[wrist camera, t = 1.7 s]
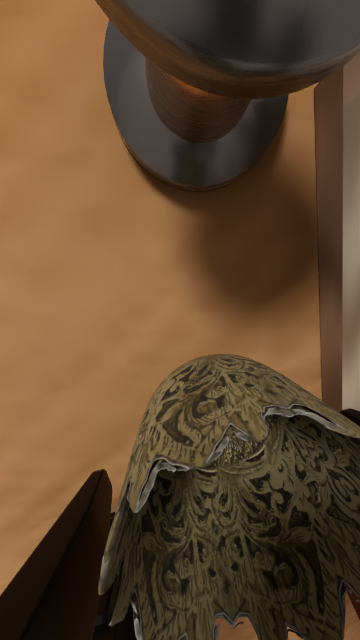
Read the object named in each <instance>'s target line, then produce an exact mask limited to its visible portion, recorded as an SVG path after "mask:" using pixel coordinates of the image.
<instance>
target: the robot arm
mask: <svg viewBox="0 0 360 640" xmlns="http://www.w3.org/2000/svg"><path fill="white" fill-rule="evenodd" d="M339 413H340V414H342V415H343V416H345V417H346V418H348V419H349V420H351V421H352V422H354V423H355V424H357V425H358V426H360V411H357V410H355V409H351V408H348V409H344V410H341V411H340V412H339ZM111 502H112V485H111V482H110V479H109V477H108V474H107V472H106V470H105V469H101V470H97V471H94V472H93V473H92V474H91V475H90V476H89V478H88V479H87V480H86V482H85V483H84V484H83V486H82V487H81V488H80V490H79V491H78V493H77V494H76V495H75V497H74V498H73V499H72V501H71V502H70V503H69V505H68V506H67V507H66V509H65V510H64V511H63V513H62V514H61V515H60V517H59V518H58V519H57V521H56V522H55V523H54V525H53V526H52V527H51V529H50V530H49V531H48V533H47V534H46V535H45V537H44V538H43V539H42V541H41V542H40V543H39V545H38V546H37V547H36V549H35V550H34V551H33V553H32V554H31V555H30V557H29V558H28V559H27V561H26V562H25V563H24V565H23V566H22V567H21V569H20V570H19V571H18V573H17V574H16V575H15V577H14V578H13V580H12V581H11V582H10V584H9V585H8V586H7V588H6V589H5V590H4V592H3V593H2V594H1V596H0V640H137V638H136V635H135V628H134V618H133V607H132V604H131V602H130V603H129V604H130V606H129V607H128V613H127V614H126V616H125V619H124V620H122V621H120V622H118V623H116V624H115V625H113V626H110V625H109V624H108V616H109V609H110V602H111V596H112V591H113V585H114V581H113V583H112V585H111V586H110V588H109V589H108V590H107V591H106V592H105V593H104V594H102V595H99V594H98V587H99V579H100V572H101V566H102V559H103V554H104V551H105V548H106V547H105V545H106V542H107V538H108V535H109V532H110V529H111V526H112V523H113V520H114V516H115V513H112V514H111Z"/></svg>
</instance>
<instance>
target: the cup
mask: <svg viewBox="0 0 360 640" xmlns="http://www.w3.org/2000/svg"><path fill="white" fill-rule="evenodd" d="M105 547H106V548H105V551H104V554H103V559H102V566H101V572H100V579H99V587H98V594H99V595H102V594H104V593H105V592H106V591H107V590H108V589H109V588H110V586H111V585H112V583H113V581H114V585H113V591H112V596H111V602H110V609H109V616H108V624H109V625H110V626H113V625H115V624H116V623H118V622H120V621H122V620H124V619H125V616H126V614H127V613H128V607H129V606H130V604H129V603H130V602H131V604H132V607H133V618H134V628H135V635H136V638H137V640H217V637H218V634H219V630H218V629H219V627H220V624H219V625H216V626H215V618H220V617H222V618H224V619H225V620H226V621H227V622H228V623H229V625H230V626H234V624H235V622H236V620H237V618H238V617H247V618H249V620H250V622H251V624H252V626H253V628H254V630H255V632H256V634H257V636H258V640H288V631H291V632H294V633H295V634H296V635H297V636H299V637H301V638H302V639H304V640H344V628H345V610H346V609H345V604H344V602H345V594H346V592H350V594H352V590H353V592H355V594H356V595H357V597H359V598H360V426H358V425H357V424H355V423H354V422H352V421H351V420H349V419H348V418H346V417H345V416H343V415H342V414H340V413H339V412H338V411H336V410H335V409H333V408H332V407H330V406H329V405H327V404H326V403H324V402H323V401H321V400H320V399H318V398H317V397H315V396H314V395H312V394H311V393H309V392H308V391H306V390H305V389H303V388H302V387H300V386H299V385H297V384H296V383H294V382H293V381H291V380H290V379H288V378H286V377H285V376H283V375H282V374H280V373H278V372H276V371H275V370H273V369H271V368H269V367H267V366H265V365H264V364H261V363H259V362H257V361H254V360H252V359H249V358H246V357H242V356H237V355H227V354H215V355H208V356H203V357H200V358H196V359H194V360H191V361H189V362H187V363H185V364H183V365H182V366H180V367H179V368H177V369H176V370H175V371H173V372H172V373H171V374H170V375H169V376H168V377H167V378H166V379H165V380H164V381H163V382H162V383H161V384H160V386H159V387H158V388H157V390H156V391H155V393H154V395H153V396H152V398H151V400H150V402H149V404H148V406H147V408H146V411H145V413H144V416H143V419H142V422H141V425H140V428H139V431H138V434H137V437H136V441H135V444H134V447H133V451H132V454H131V458H130V461H129V465H128V469H127V472H126V476H125V479H124V483H123V487H122V490H121V494H120V498H119V502H118V505H117V509H116V513H115V516H114V520H113V523H112V526H111V529H110V532H109V535H108V538H107V542H106V545H105ZM345 584H347V585H348V586H349V587H350V588H351V589H352V590H349V591H347V589H348V587H346V586H345ZM356 602H359V603H360V599H358V600H356ZM240 623H241V624H243V623H244V622H239V623H238V624H240ZM238 624H237V625H238ZM237 625H236V626H237ZM236 626H235V627H236ZM287 626H288V627H289V628H291V629H293V630H294V631H293V630H291V629H288V630H287ZM214 627H215V628H214ZM235 627H232V628H233V629H234V628H235ZM295 631H296V632H295Z"/></svg>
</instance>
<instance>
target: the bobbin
mask: <svg viewBox="0 0 360 640" xmlns="http://www.w3.org/2000/svg"><path fill="white" fill-rule="evenodd" d="M95 1H96V2H97V4H98V5H99V6H100V8H101V9H102V10H103V12H104V13H105V14H106V15H107V17H108V18H109V23H108V27H107V31H106V36H105V44H104V60H103V67H104V80H105V86H106V91H107V97H108V100H109V103H110V107H111V110H112V114H113V117H114V120H115V123H116V126H117V128H118V131H119V133H120V135H121V138H122V140H123V141H124V143H125V145H126V147H127V149H128V150H129V151H130V153H131V154H132V156H133V157H134V159H135V160H136V161H137V162H138V163H139V164H140V165H141V166H142V168H144V169H145V170H146V171H147V172H148V173H149V174H150V175H152V176H153V177H155V178H156V179H158V180H159V181H161V182H162V183H165V184H167V185H169V186H171V187H174V188H177V189H180V190H185V191H194V192H202V191H210V190H214V189H217V188H221V187H223V186H225V185H227V184H230V183H231V182H233V181H235V180H236V179H238V178H239V177H240V176H242V175H243V174H244V173H245V172H246V171H247V170H248V169H249V168H250V167H251V166H252V165H253V164H254V163H255V162H256V161H257V160H258V159H259V158H260V157H261V156H262V155H263V153H264V152H265V150H266V149H267V148H268V146H269V145H270V143H271V142H272V140H273V138H274V136H275V135H276V133H277V131H278V128H279V126H280V124H281V121H282V118H283V115H284V112H285V109H286V105H287V100H288V95H289V94H290V93H293V92H297V91H300V90H302V89H304V88H307V87H309V86H311V85H313V84H315V83H318V82H320V81H322V80H323V79H325V78H326V77H328V76H330V75H331V74H333V73H334V72H336V71H337V70H339V69H340V68H342V67H343V66H344V65H345V64H347V63H348V62H349V61H350V60H351V59H353V58H354V57H355V56H356V55H357V54H359V53H360V0H95Z"/></svg>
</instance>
